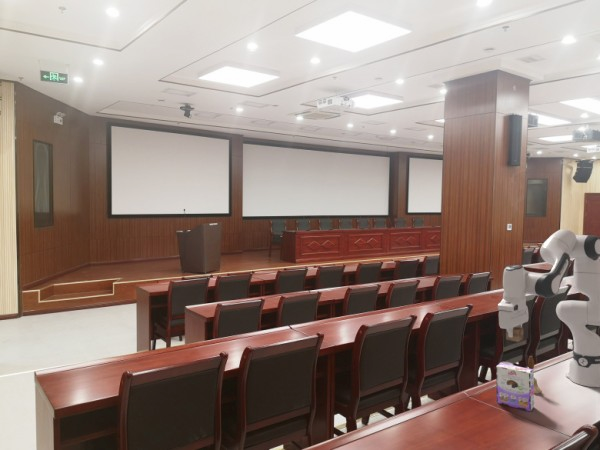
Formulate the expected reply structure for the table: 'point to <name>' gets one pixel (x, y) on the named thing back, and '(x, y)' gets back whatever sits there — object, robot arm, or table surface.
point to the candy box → (515, 386)
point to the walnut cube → (516, 334)
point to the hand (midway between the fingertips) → (514, 335)
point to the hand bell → (536, 388)
